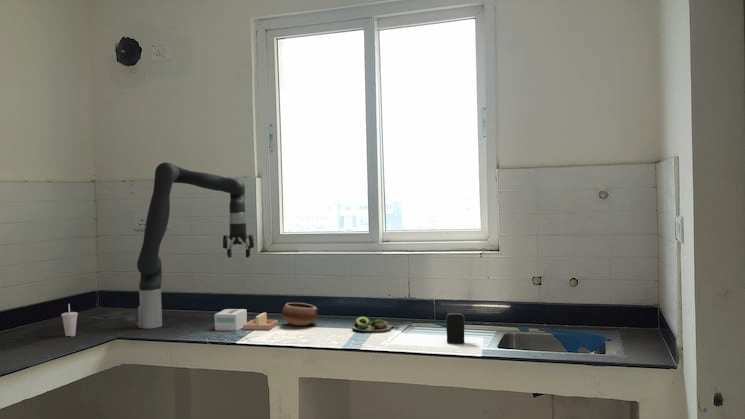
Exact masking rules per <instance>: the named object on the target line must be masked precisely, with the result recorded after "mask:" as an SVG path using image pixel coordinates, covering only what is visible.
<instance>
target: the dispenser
mask: <svg viewBox="0 0 745 419" xmlns="http://www.w3.org/2000/svg"><path fill="white" fill-rule="evenodd" d="M247 311H248V310H247V309H244V308H239V309H238V308H225V309H222V310H221V311H219V312H217V313H214V330H215V331H229V332H230V331H237V332H238V331H239V330H240V329H242V328H243V325H244V324H246V323H247V322H248V319H247V318H248V316H247V314H248V313H247Z"/></svg>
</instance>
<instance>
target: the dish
mask: <svg viewBox="0 0 745 419" xmlns="http://www.w3.org/2000/svg"><path fill="white" fill-rule="evenodd" d="M278 325H279V320H278V319H267V324H265V325H256V319H251V320H249V321H247V323H246V324H244V325H243V327H242V328H243V331H271V330H273V329H274V328H276V327H277V326H278Z"/></svg>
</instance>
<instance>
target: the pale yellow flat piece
mask: <svg viewBox="0 0 745 419" xmlns="http://www.w3.org/2000/svg"><path fill="white" fill-rule="evenodd" d="M267 315H268V314H267V312H262V313H260V314H258V315H256V316H255V320H256V325H265V324H267V320H268V318H267Z"/></svg>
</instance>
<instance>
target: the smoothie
mask: <svg viewBox="0 0 745 419" xmlns="http://www.w3.org/2000/svg"><path fill="white" fill-rule="evenodd" d="M70 305H71V304H70V303H68V305H67V306H68V312H63V313H61V316H60V317H61V318H62V323H63V330H64V334H65V337H66V336H71V337H75V336H76V333H77V332H76V330H77V322H78V321H77V320H78V315H79V313H78V312H76V311H71V306H70Z"/></svg>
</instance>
